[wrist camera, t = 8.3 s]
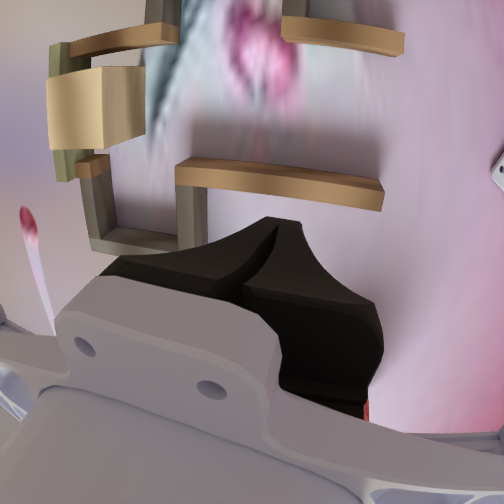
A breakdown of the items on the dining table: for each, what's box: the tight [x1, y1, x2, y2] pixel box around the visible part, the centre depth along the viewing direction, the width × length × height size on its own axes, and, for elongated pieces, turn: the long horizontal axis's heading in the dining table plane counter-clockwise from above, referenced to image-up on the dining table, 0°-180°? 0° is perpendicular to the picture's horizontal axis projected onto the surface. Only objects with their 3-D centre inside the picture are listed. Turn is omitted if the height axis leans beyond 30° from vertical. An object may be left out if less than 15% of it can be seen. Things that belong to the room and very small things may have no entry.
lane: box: [49, 0, 405, 256], centre depth 17 cm, size 22×23×4 cm
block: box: [46, 66, 146, 150], centre depth 18 cm, size 5×5×5 cm
